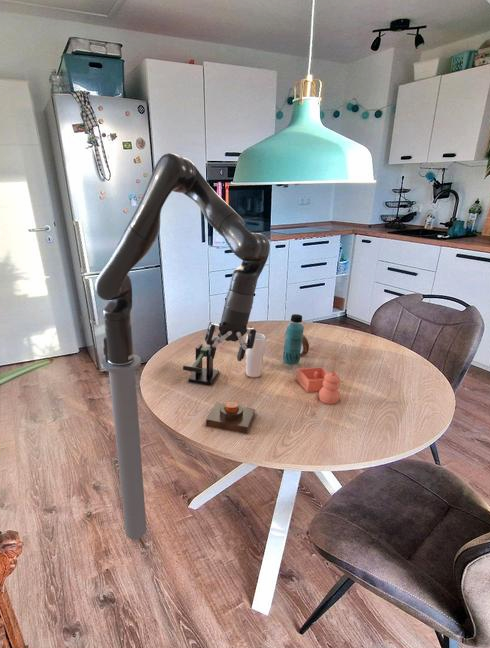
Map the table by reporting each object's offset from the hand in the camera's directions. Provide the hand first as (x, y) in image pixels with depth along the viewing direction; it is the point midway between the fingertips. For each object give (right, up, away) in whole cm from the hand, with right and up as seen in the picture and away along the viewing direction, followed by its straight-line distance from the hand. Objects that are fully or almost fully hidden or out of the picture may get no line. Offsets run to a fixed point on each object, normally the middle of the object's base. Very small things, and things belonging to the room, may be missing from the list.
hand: (225, 358), depth 114 cm
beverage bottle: (+25, -2, +35) cm, 43 cm away
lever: (-9, -1, +14) cm, 17 cm away
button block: (+2, -18, -1) cm, 18 cm away
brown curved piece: (+29, +3, +47) cm, 55 cm away
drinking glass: (+10, -6, +26) cm, 29 cm away
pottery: (+32, -11, +17) cm, 38 cm away
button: (+2, -15, -3) cm, 15 cm away
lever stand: (-7, -7, +23) cm, 25 cm away
